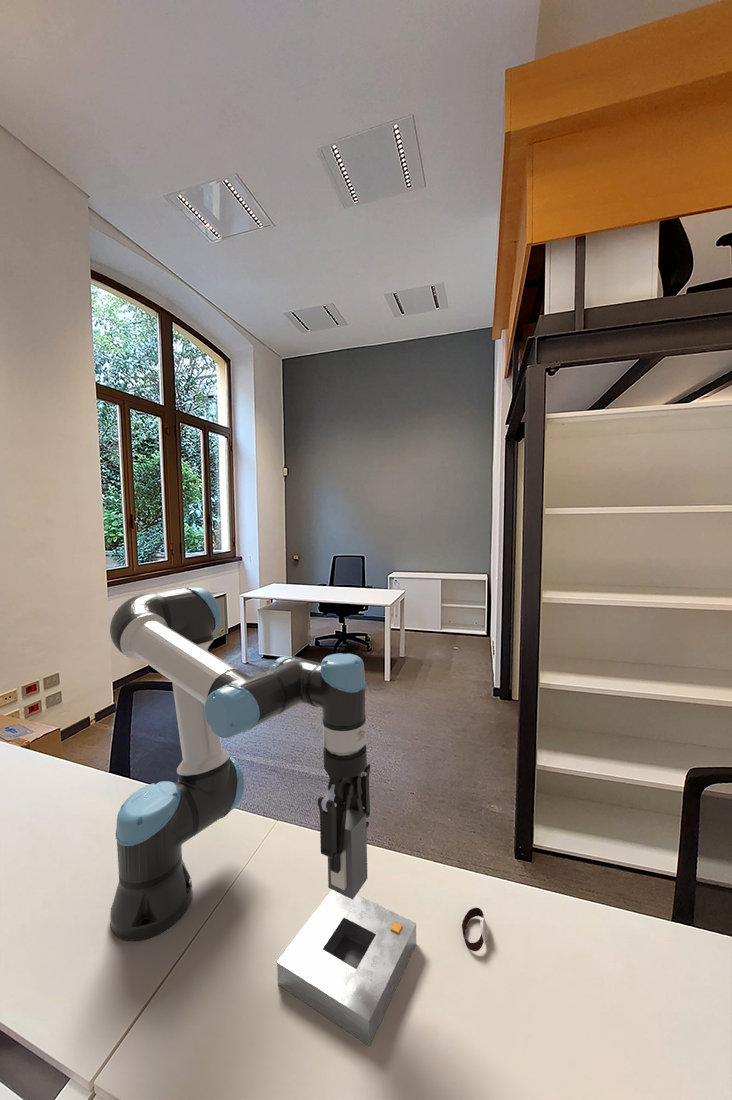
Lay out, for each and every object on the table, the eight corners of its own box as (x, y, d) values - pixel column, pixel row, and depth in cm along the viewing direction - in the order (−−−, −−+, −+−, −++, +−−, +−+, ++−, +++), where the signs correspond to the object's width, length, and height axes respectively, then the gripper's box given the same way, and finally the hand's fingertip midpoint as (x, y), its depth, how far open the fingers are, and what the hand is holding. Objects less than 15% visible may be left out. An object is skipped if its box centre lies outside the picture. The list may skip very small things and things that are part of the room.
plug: (328, 887, 74) (326, 821, 73) (344, 867, 78) (342, 804, 78) (352, 899, 72) (351, 831, 71) (367, 878, 76) (366, 813, 75)
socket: (277, 984, 73) (277, 960, 72) (336, 902, 88) (335, 882, 88) (369, 1046, 64) (368, 1019, 63) (416, 943, 79) (416, 921, 79)
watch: (485, 958, 76) (485, 939, 76) (459, 950, 78) (459, 931, 78) (488, 921, 84) (488, 903, 84) (464, 914, 85) (464, 897, 85)
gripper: (333, 777, 64) (337, 924, 65) (387, 728, 80) (389, 847, 81) (294, 764, 68) (298, 904, 69) (353, 720, 83) (356, 834, 85)
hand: (347, 873), depth 75 cm, fingers closed on plug, 5 cm apart
